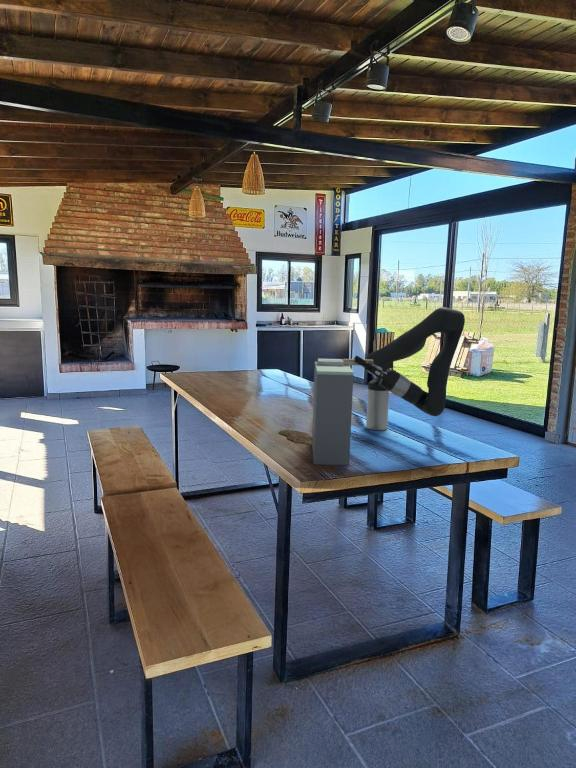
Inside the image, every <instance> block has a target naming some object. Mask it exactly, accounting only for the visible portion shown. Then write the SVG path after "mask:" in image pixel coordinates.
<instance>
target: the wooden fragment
mask: <svg viewBox="0 0 576 768" xmlns="http://www.w3.org/2000/svg"><path fill="white" fill-rule="evenodd" d="M277 434H280V435H283V436H284V437H286V439H288V440H290V441H293V442H294V443H295V444H303V445H310V446H312V436H311V435H310V434H309V433H307V432H302V431H297V430H293V429H290V428H285V429H282V430H280V431H278V432H277Z"/></svg>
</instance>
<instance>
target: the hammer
mask: <svg viewBox="0 0 576 768" xmlns="http://www.w3.org/2000/svg"><path fill="white" fill-rule="evenodd" d="M362 359H363V358H362ZM354 360H355V359H354V358H317V362H318V365H325V366H344V365H349V366H360V365H359V364H358V363H356V362H355V361H354ZM363 360H365V361H367V362H368V363H370V364H373V362H374V360H367V359H366V358H365V359H363Z"/></svg>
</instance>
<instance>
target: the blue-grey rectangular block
mask: <svg viewBox="0 0 576 768" xmlns="http://www.w3.org/2000/svg"><path fill="white" fill-rule="evenodd" d="M313 370H314V374H313V375H314V376H313V377H314V378H313V403H312V433H311V435H312V436H311V437H312V445H311V446H312V447H311V448H312V456H313V459H312V460H313V465H329V466H330V465H331V466H332V465H333V466H335V465H336V466H350V458H351V456H350V455H351V454H350V453H351V437H352V435H351V433H352V432H351V431H352V412H353V411H352V410H353V409H352V408H353V394H354V393H353V390H354V389H353V388H354V371H353V369H352V368H351V367H350V365H344V366H325V365H318V361H314V369H313Z"/></svg>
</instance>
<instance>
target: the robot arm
mask: <svg viewBox="0 0 576 768" xmlns="http://www.w3.org/2000/svg"><path fill="white" fill-rule="evenodd" d="M465 319H466V318H465V314H464V313H463V312H462V311H461V310H459V309H458V310H457V309H453V308H450V307H445V306H444V307H441V306H440V307H439V308H436V309H434V310H433V311H432V312H431V313H430V314H429V315H427V316H426V317H425V318H424V319H423V320H421V321H420V322H419V323H418V324H416V325H414V326H413V327H412V328H410V329H409V330H407V331H405V332H404V333H402V334H401V335H399V336H398V337H396V338H395V339H393V340H392V341H390V342H389V343H387V344H386V345H385V346H383V347H380V348H379V349H377V350H374V351H371V352H370V353H369V354H368V355H367V356H366V358H365V359H367V360H374V362H373V364H370V363H368V362H367V361H365V360H363V358H362V357H360V356H358V355H355V356H354V358H353V359H355V360H354V361H355V362H356V363H358V364H359V365H358V366H361V367H363V369H365V371H366V372H367V373H369V374H370V375H372V376H373V377H374V378H373V379H372V380H370V381H369V382H368V385H367V401H366V421H365V423H366V424H365V427H366V429H368V430H373V431H385V430H387V429H388V425H389V424H388V421H389V405H390V393H391V394H393V395H395V396H396V397H399V398H400V399H403V400H404V401H406V402H408V403H410V404H412V405H413V406H414V407H416V408H417V409H418V410H420V411H421V412H423V413H425V414H427V415H429V416H432V417H438V416H440V415H442V413H444V410H445V407H446V401H447V400H446V399H447V398H446V397H447V390H446V389H447V384H448V379H449V374H450V369H451V366H452V362H453V358H454V356H455V353H456V350H457V348H458V345H459V342H460V340H461V337H462V334H463V331H464V327H465V324H466V323H465V322H466V320H465ZM438 333H439V334H440V333H442V334H445V340H444V343H443V345H442V348H441V349H440V351H438V354H437V355H436V356H435V357H434V359H433V360H432V362H431V364H430V367H429V370H428V375H427V381H426V386H427V389H428V391H425V390H423V388H421V386H420V385H418V384H416V383H415V382H413V381H411V380H410V379H409V378H407V377H406V376H404V375H403V374H402V373H399V372H398V371H396V369H394V363H395V362H397V361H401V360H405V359H407V358H410V357H412V356H415V354H418V353H419V352H420V351H421V350H423V349H424V347H425V345H426V341H427V339H428V338H429V337H431V336H432V335H435V334H438Z"/></svg>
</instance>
